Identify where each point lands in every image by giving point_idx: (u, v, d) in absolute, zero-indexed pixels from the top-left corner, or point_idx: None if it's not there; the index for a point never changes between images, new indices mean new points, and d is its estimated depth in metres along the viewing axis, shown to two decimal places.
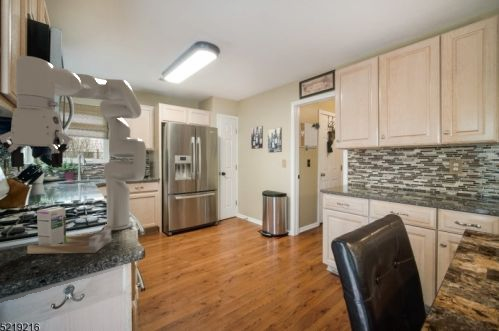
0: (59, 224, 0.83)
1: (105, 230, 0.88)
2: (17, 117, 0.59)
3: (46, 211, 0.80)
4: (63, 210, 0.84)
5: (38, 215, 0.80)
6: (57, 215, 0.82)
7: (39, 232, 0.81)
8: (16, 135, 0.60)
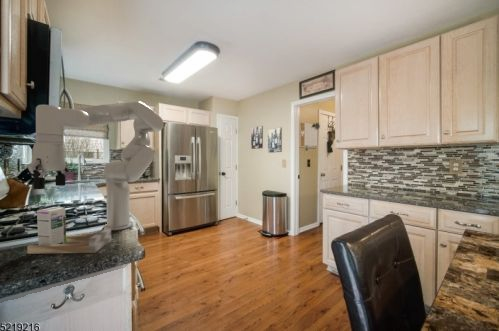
0: (59, 224, 0.83)
1: (105, 230, 0.88)
2: (50, 150, 0.79)
3: (46, 211, 0.80)
4: (63, 210, 0.84)
5: (38, 215, 0.80)
6: (57, 215, 0.82)
7: (39, 232, 0.81)
8: (49, 164, 0.79)
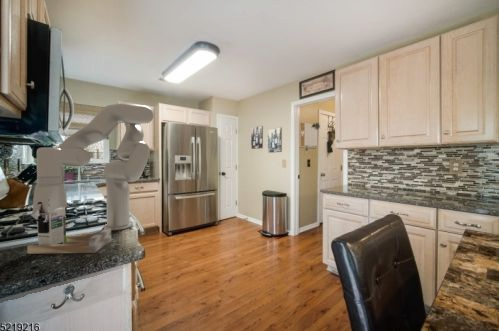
0: (59, 224, 0.83)
1: (105, 230, 0.88)
2: (51, 193, 0.80)
3: None
4: (63, 210, 0.84)
5: None
6: (57, 215, 0.82)
7: None
8: (50, 206, 0.80)
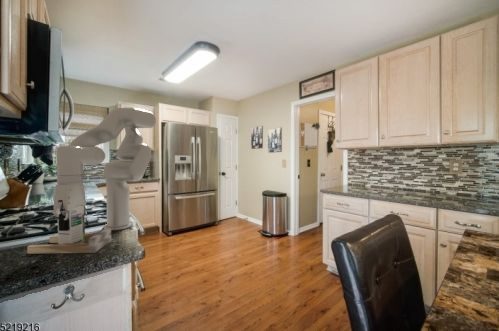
0: (78, 221, 0.83)
1: (105, 230, 0.88)
2: (71, 191, 0.80)
3: None
4: (82, 208, 0.85)
5: None
6: (76, 213, 0.83)
7: None
8: (70, 204, 0.80)
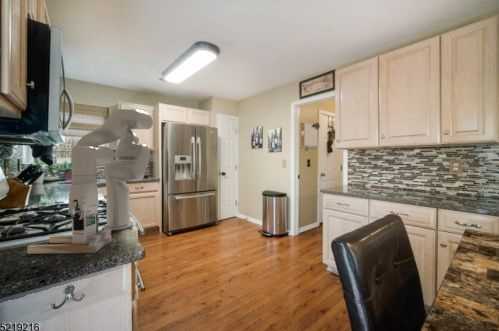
0: (92, 221, 0.84)
1: (105, 230, 0.88)
2: (86, 191, 0.81)
3: None
4: (95, 208, 0.85)
5: None
6: (91, 212, 0.83)
7: None
8: (85, 204, 0.81)
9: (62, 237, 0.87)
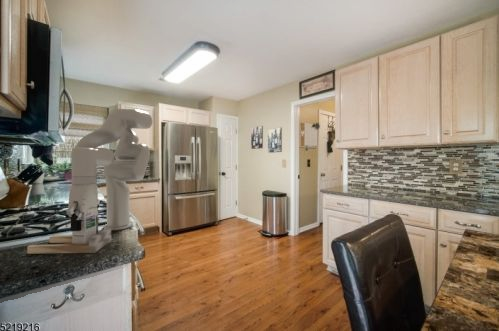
0: (92, 223, 0.84)
1: (105, 230, 0.88)
2: (86, 192, 0.81)
3: None
4: (95, 210, 0.85)
5: None
6: (91, 215, 0.83)
7: (73, 232, 0.82)
8: (85, 205, 0.80)
9: (62, 237, 0.87)
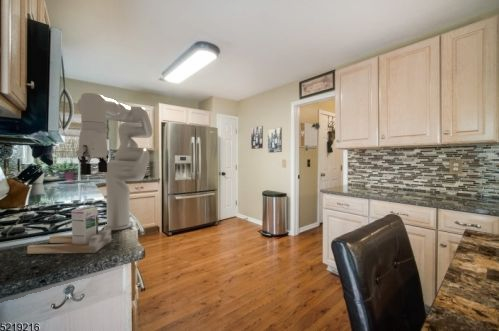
0: (92, 223, 0.84)
1: (105, 230, 0.88)
2: (95, 137, 0.81)
3: (81, 211, 0.81)
4: (95, 210, 0.85)
5: (72, 215, 0.81)
6: (91, 215, 0.83)
7: (73, 232, 0.82)
8: (94, 150, 0.81)
9: (62, 237, 0.87)
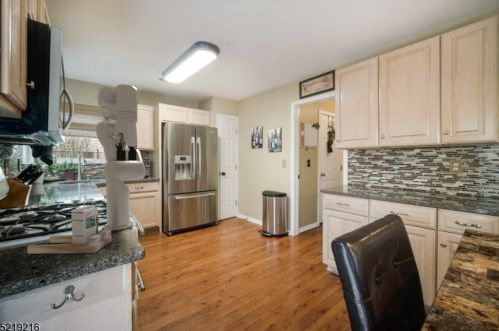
0: (92, 223, 0.84)
1: (105, 230, 0.88)
2: (129, 126, 0.87)
3: (81, 211, 0.81)
4: (95, 210, 0.85)
5: (72, 215, 0.81)
6: (91, 215, 0.83)
7: (73, 232, 0.82)
8: (129, 138, 0.87)
9: (62, 237, 0.87)
